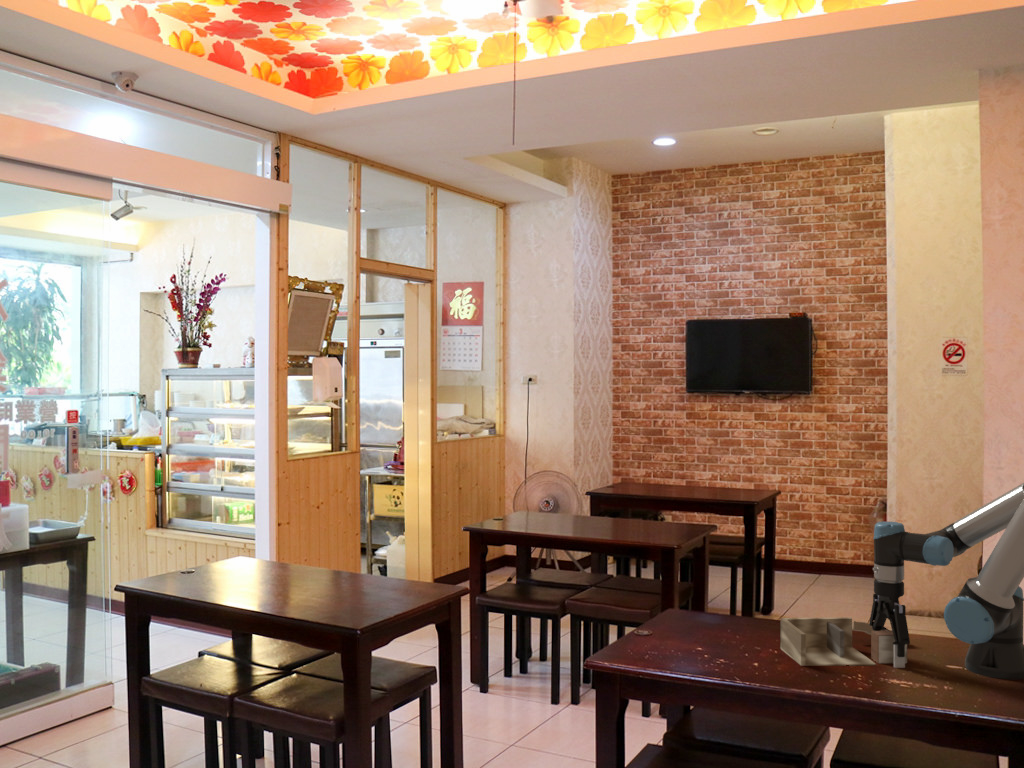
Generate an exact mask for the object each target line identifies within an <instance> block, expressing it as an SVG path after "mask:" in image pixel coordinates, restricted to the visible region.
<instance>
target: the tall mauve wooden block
mask: <svg viewBox="0 0 1024 768" xmlns="http://www.w3.org/2000/svg"><path fill="white" fill-rule="evenodd" d="M893 642H895V639H894V635H893V631H891V630H890V631H871V635H870V643H871V644H870V645H871V648H870V653H871V654H870V660H872V659H873V660H872V661H873V662H875V661H876V664H894V644H893ZM907 663H908V644H905V664H907Z"/></svg>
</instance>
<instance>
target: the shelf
mask: <svg viewBox="0 0 1024 768" xmlns="http://www.w3.org/2000/svg"><path fill="white" fill-rule="evenodd" d="M852 624H853V618H852V617H843V616H842V617H783V618H782V617H781V618H780V625H779V626H780V627H779V628H780V629H779V630H780V636H779V637H780V638H779V639H780V640H779V641H780V646H779V647H780V648H779V649H780V650H781V651H782V652H783V653H785V654H786V655H787V656H788V657H790V658H791V659H792V660H793V661H795V662H796V663H797V664H798V665H799V666H802V667H803V666H804V667H805V666H806V667H809V666H811V667H813V666H814V667H815V666H817V667H819V666H820V667H822V666H825V667H826V666H828V667H829V666H833V667H835V666H843V667H845V666H846V665H849V666H876V665H877V662H876V663H875V661H874V660H872V659H871V658H869V657H867V656H866V655H865V654H863V653H861V652H860V651H858V650H857V649H856V648H854V647H853V630H852Z"/></svg>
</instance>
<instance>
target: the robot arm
mask: <svg viewBox="0 0 1024 768" xmlns="http://www.w3.org/2000/svg"><path fill="white" fill-rule="evenodd" d="M905 530H906V529H905V525H904V524H903V523H901V522H897V521H879V522H876V523H875V524H874V530H873V538H872V539H873V554H874V555H873V559H874V560H873V567H872V571H873V573H874V574H873V577H874V578H875V579H874V580H873V592H874V593H873V597H872V604H871V605H872V606H871V613H870V617H869V622H868V624H870V626H872V629H873V630H874V631H881V630H885V628H886V627H885V624H886V621H887V620H889V622H890V623H889V624H890V627H891V628H890V629H891V630H892V631H893V635H894V639H895V642H893V644H894V663H893V668H894V669H904V668H906V663H905V644H907V645H910V643H911V641H910V635H909V627H908V622H907V614H906V611H907V609H906V608H907V607H906V605H905V604H900V600H899V599H900V597H903V596H904V595H905V582H904V581H905V561H907V562H914V563H919V564H926V565H930V566H933V567H934V566H935V567H936V566H940V567H946V566H948V565H950V564H951V562H952V560H953V558H955V557H958V556H960V555H963V554H964V553H965V552H966V551H967V550H969V549H971V548H972V547H974V546H975V545H977V544H980V543H981V542H983V541H985V540H987V539H989V538H991V537H992V536H994V535H996V534H998V533H1001V532H1002V531H1003V533H1002V535H1001V536H1000V537H999V540H998V541H997V543H996V545H995V547H994V548H993V549H992V551H991V553H990V555H989V556H988V558H987V560H986V561H985V563H984V565H983V566H982V568H981V570H980V571H979V574H978V575H977V576H975V577H970V578H967V580H966V581H965V583H964V584H963V586H962V588H961V589H960V592H959V593H958V595H957V596H955V597H953V598H952V599H950V601H948V602H947V603H946V605H945V607H944V611H943V619H944V622H945V625H946V627H947V629H948V631H949V632H950V633H951V634H952V635H953V636H954V638H956V639H957V640H959V641H961V642H963V643H966V644H970V645H969V647H968V650H967V653H966V655H965V658H964V668H965V669H966V670H968V671H969V672H970V673H973V674H976V675H979V676H983V677H987V678H993V679H1001V680H1015V681H1016V680H1017V681H1019V680H1024V591H1023V588H1022V587H1021V586H1020V584H1021V583H1022V581H1023V579H1024V482H1022V483H1021V484H1019V485H1018V486H1015V487H1014V488H1012V489H1010V490H1009V491H1007V492H1005V493H1003V494H1002V495H1000V496H997V497H996V498H994V499H993V500H991V501H989V502H988V503H986V504H984V505H982V506H980V507H979V508H976V509H975V510H973V511H972V512H970V513H968V514H966V515H964V516H963V517H961V518H959V519H957V520H956V521H954V522H952V523H950V524H948V525H946V526H945V527H943V528H941V529H939V530H936V531H931V532H928V533H916V532H909V531H905ZM884 627H885V628H884Z"/></svg>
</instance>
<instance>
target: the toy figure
mask: <svg viewBox="0 0 1024 768" xmlns="http://www.w3.org/2000/svg"><path fill="white" fill-rule="evenodd" d="M884 628H885V630H881V631H892V629H889V628H888V627H886V626H884ZM853 631H855V632H863V633H866V634H867V635H870V636H871V631H874V630H873V629H872V626H870V624H869V622H865V621H856V620H852V632H853Z"/></svg>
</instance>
